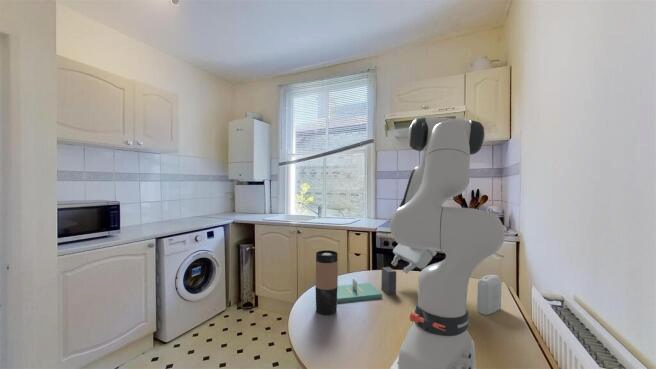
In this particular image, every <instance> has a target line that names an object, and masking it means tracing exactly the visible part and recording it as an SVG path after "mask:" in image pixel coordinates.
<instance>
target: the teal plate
mask: <svg viewBox="0 0 656 369" xmlns="http://www.w3.org/2000/svg"><path fill="white" fill-rule="evenodd" d="M382 298H383V293H382V292H381V291H379V290H378V289H377V288H376V287H375V286H374V285H373V284H371V282H366V283H364V282H363V283H358V281H357V279H355V278H352V284H343V285H338V288H337V304H339V303H349V302H356V301H357V302H358V301H364V300H365V301H366V300H375V299H382Z"/></svg>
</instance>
